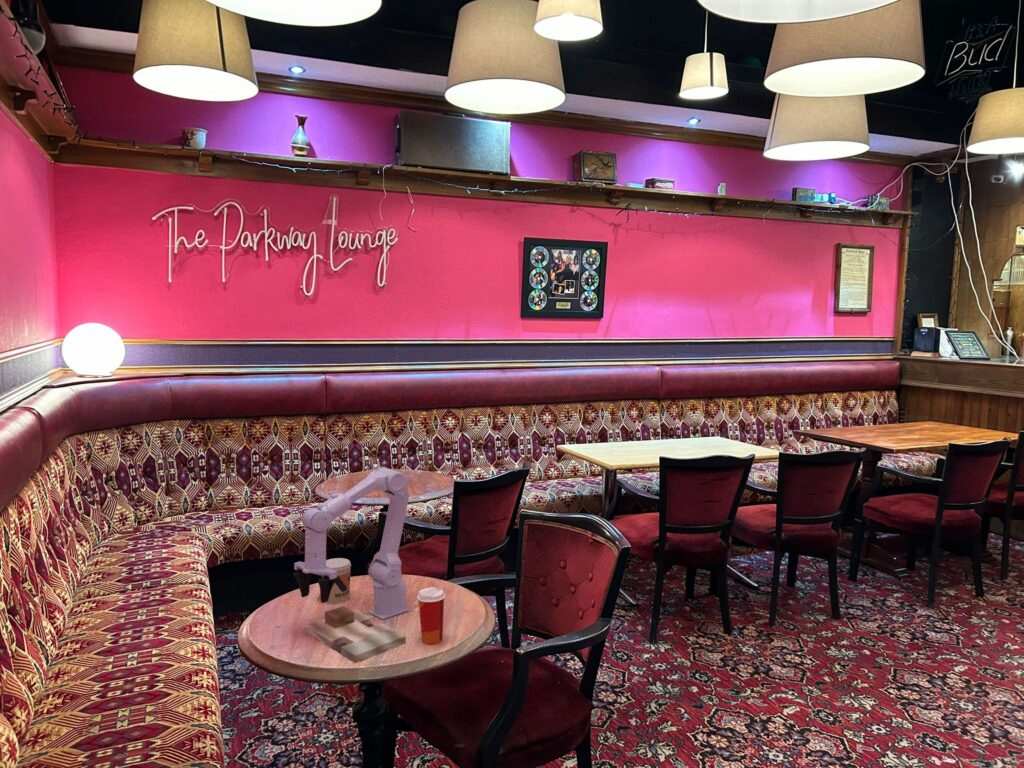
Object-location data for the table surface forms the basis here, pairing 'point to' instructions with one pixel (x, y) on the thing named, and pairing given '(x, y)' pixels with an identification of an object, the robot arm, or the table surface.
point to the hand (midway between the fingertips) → (314, 598)
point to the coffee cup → (340, 580)
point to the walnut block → (339, 617)
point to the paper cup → (431, 615)
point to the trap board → (357, 637)
